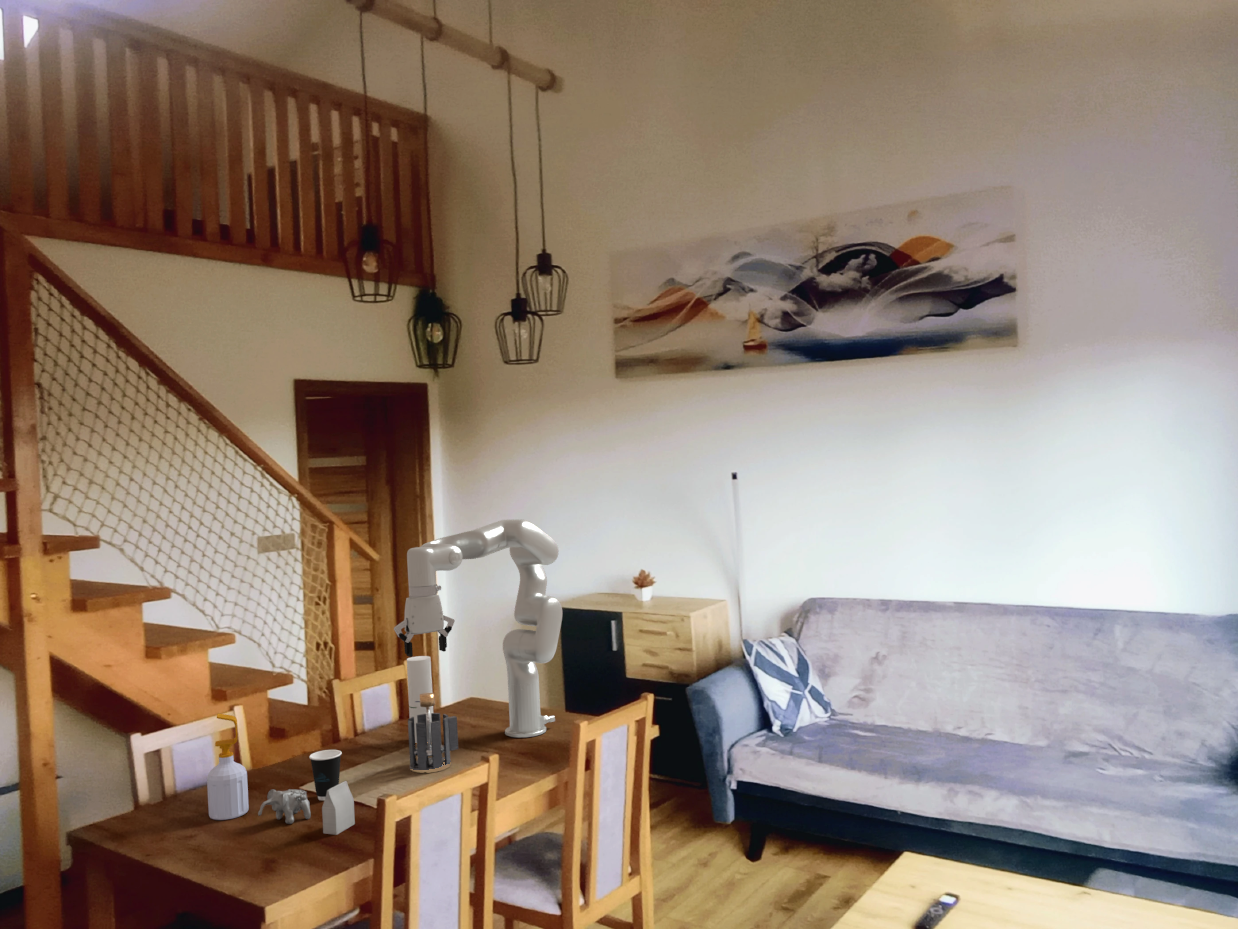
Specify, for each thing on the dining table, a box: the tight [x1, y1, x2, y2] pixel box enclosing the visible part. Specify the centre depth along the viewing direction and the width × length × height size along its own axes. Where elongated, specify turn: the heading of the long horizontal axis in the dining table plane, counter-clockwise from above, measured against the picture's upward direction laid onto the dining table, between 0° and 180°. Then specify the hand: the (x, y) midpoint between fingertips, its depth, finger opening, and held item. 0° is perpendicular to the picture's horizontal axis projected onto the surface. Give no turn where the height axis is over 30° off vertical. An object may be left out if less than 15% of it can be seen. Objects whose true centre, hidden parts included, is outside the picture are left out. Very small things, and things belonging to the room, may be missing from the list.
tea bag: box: [321, 780, 356, 836], centre depth 224 cm, size 4×7×10 cm, turn 159°
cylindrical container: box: [406, 655, 434, 743], centre depth 295 cm, size 7×7×25 cm
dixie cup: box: [308, 749, 343, 801], centre depth 247 cm, size 8×8×11 cm
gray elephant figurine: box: [257, 788, 311, 825], centre depth 231 cm, size 9×12×8 cm
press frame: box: [407, 712, 459, 770], centre depth 269 cm, size 14×11×14 cm
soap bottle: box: [206, 713, 250, 821], centre depth 238 cm, size 9×9×25 cm
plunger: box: [415, 692, 444, 757], centre depth 268 cm, size 8×8×16 cm
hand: (426, 653), depth 268 cm, fingers open, 9 cm apart
